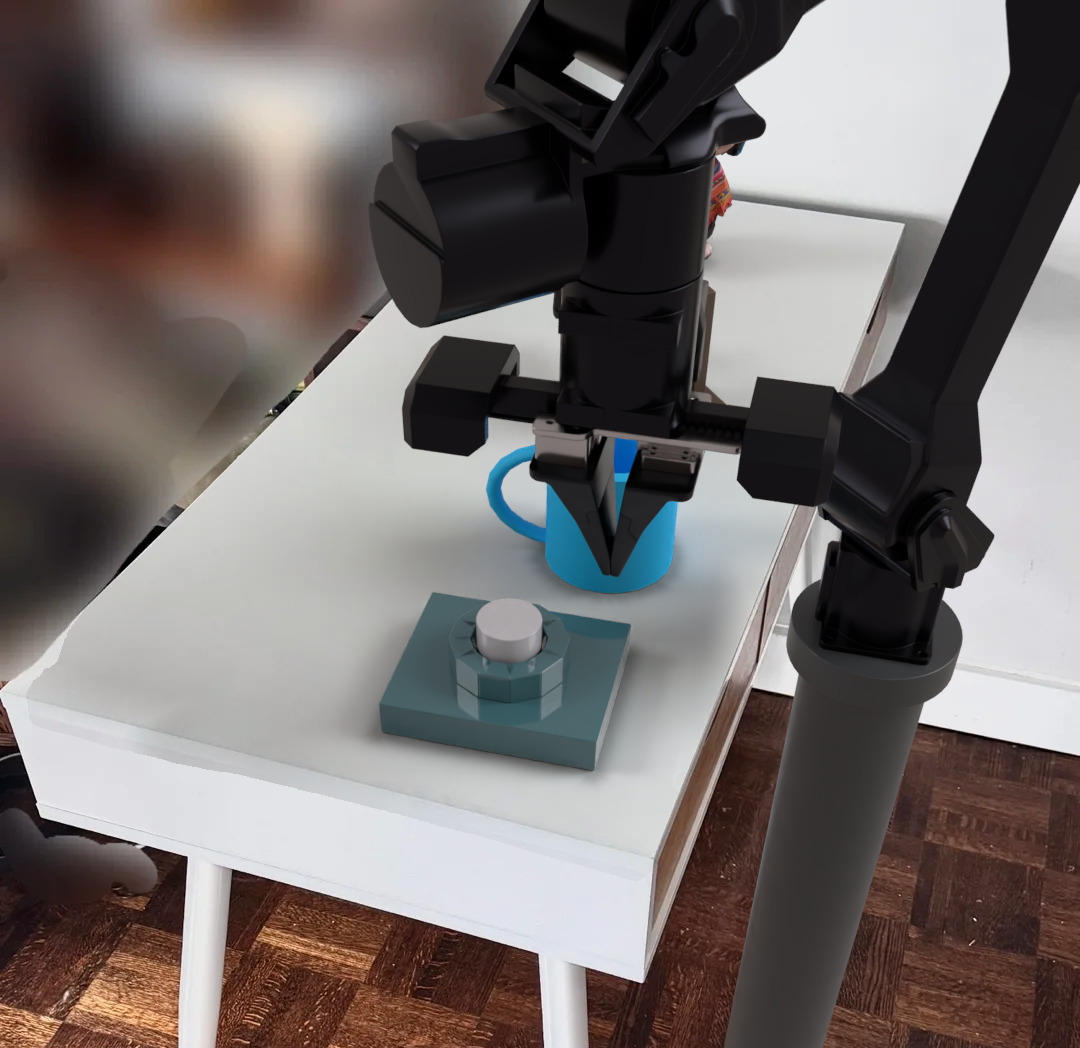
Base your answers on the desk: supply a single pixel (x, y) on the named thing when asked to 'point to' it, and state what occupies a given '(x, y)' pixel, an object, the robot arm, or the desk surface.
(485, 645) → the flush button
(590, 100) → the robot arm
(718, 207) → the figurine
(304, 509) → the desk surface
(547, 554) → the mug
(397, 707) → the block
